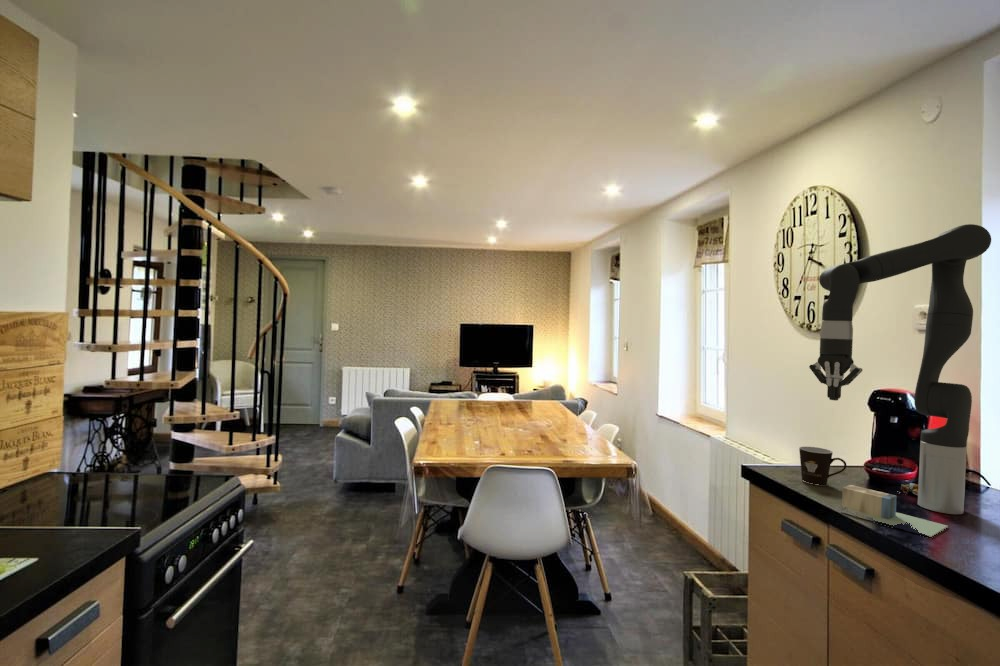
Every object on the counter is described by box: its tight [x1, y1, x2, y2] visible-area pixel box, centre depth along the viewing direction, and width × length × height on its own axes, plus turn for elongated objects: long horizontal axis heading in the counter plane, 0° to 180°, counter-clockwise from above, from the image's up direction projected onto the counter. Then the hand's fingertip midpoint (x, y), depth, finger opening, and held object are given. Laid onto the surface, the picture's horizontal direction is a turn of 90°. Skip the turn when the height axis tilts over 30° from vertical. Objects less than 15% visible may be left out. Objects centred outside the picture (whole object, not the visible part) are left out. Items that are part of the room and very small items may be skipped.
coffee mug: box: [798, 446, 847, 486], centre depth 153 cm, size 12×9×10 cm
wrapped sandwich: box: [898, 482, 919, 496], centre depth 145 cm, size 7×12×4 cm, turn 34°
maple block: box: [841, 484, 897, 520], centre depth 129 cm, size 5×5×10 cm
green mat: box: [860, 511, 949, 538], centre depth 125 cm, size 12×18×1 cm, turn 35°
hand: (833, 399), depth 142 cm, fingers closed
